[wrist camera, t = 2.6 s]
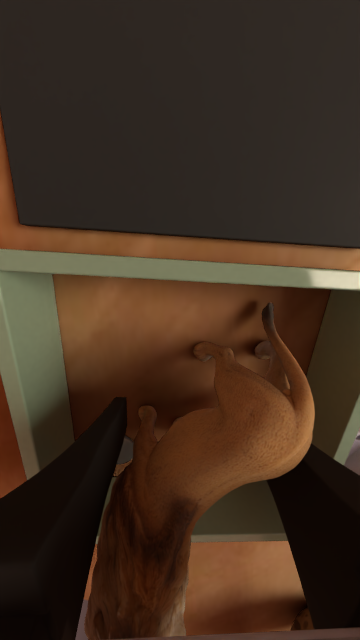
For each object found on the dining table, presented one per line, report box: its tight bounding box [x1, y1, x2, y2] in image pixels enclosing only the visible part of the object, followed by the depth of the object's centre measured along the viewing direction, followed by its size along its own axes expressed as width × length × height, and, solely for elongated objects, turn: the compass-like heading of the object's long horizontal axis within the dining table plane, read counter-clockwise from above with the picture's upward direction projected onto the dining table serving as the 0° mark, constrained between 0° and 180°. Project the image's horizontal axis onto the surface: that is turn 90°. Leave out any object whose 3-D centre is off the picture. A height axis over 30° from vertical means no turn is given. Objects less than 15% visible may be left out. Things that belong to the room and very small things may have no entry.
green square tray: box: [0, 249, 360, 544], centre depth 12 cm, size 18×18×4 cm
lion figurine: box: [84, 302, 315, 640], centre depth 9 cm, size 15×5×9 cm, turn 147°
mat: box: [0, 0, 360, 249], centre depth 9 cm, size 18×9×1 cm, turn 87°
